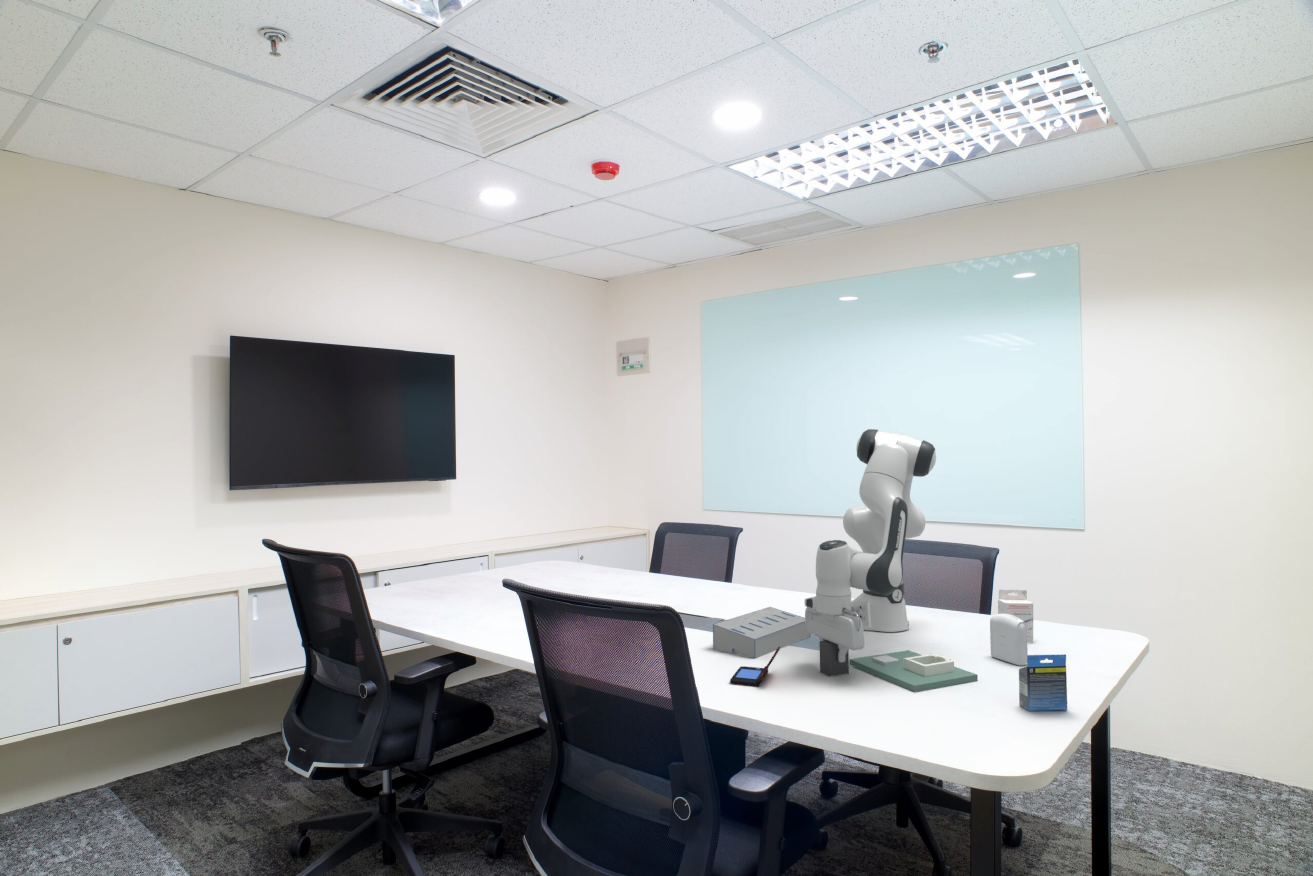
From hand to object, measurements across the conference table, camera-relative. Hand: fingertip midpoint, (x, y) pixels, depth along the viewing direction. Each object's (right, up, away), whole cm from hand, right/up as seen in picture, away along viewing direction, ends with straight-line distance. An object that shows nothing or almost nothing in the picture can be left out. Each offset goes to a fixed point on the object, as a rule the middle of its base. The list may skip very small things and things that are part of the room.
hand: (834, 658), depth 189 cm
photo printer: (+49, -4, +9) cm, 50 cm away
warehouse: (-14, -5, +29) cm, 33 cm away
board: (+20, -3, 0) cm, 20 cm away
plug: (0, -4, 0) cm, 4 cm away
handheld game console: (-21, -4, -4) cm, 21 cm away
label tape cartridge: (+40, -3, -26) cm, 48 cm away
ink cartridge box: (+61, -4, +30) cm, 68 cm away
